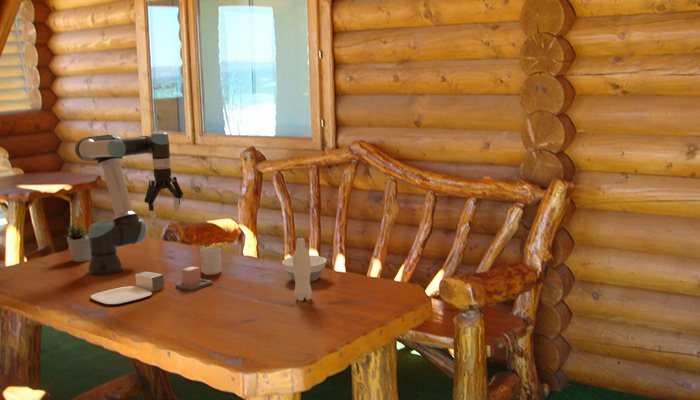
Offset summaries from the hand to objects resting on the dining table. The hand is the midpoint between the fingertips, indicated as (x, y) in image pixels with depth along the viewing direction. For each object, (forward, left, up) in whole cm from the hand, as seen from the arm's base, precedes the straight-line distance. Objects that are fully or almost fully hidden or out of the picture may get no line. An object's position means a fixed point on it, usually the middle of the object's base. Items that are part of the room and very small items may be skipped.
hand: (165, 215), depth 364 cm
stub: (+19, -4, -28) cm, 34 cm away
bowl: (+55, +29, -29) cm, 69 cm away
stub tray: (+20, -4, -29) cm, 35 cm away
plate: (+6, -32, -29) cm, 43 cm away
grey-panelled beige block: (+6, -16, -29) cm, 33 cm away
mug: (+9, +16, -29) cm, 34 cm away
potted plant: (-66, 0, -29) cm, 72 cm away
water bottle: (+74, +5, -29) cm, 80 cm away
